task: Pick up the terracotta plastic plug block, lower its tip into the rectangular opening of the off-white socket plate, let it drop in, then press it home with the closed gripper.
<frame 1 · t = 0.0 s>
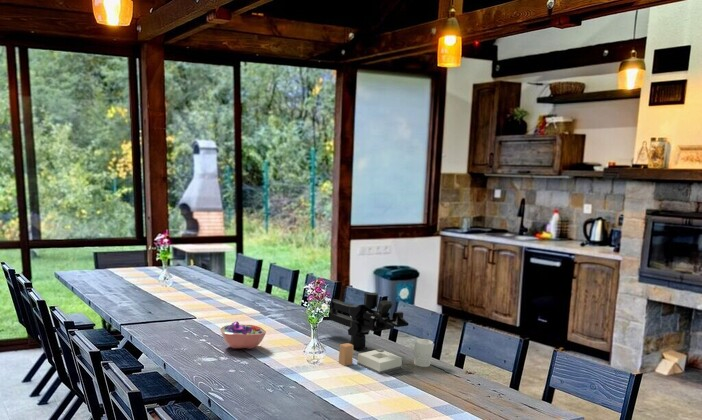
hand: (400, 325, 231), 17 cm above the table, tool horizontal, fingers open, 9 cm apart
white cup: (422, 364, 234), on the table
socket plate: (379, 366, 228), on the table
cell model: (242, 348, 240), on the table
plug: (345, 363, 228), on the table
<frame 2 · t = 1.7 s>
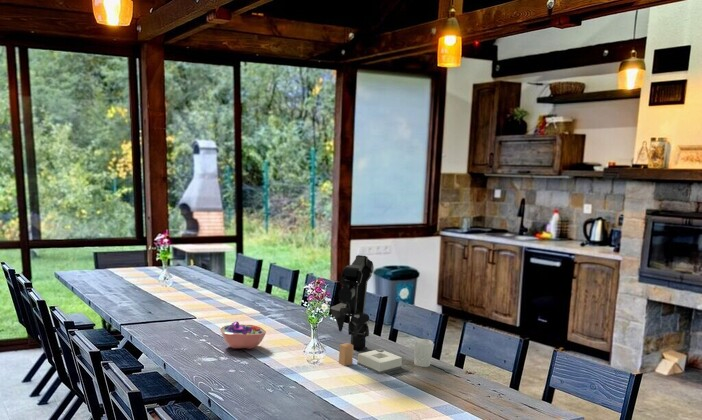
hand: (347, 334, 228), 13 cm above the table, tool pointing down, fingers open, 9 cm apart
nothing on the table moved.
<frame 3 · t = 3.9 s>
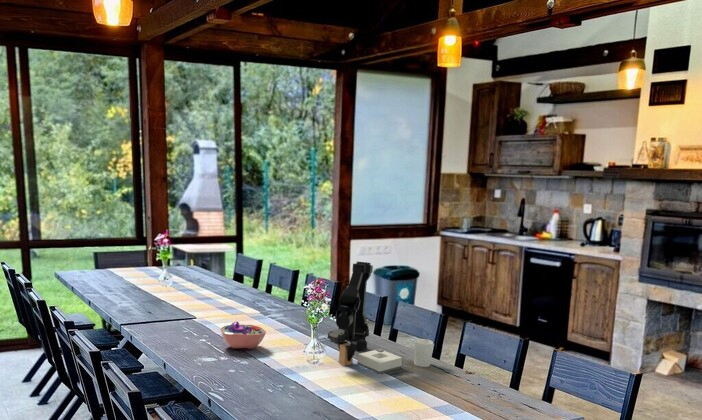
hand: (345, 359, 228), 2 cm above the table, tool pointing down, fingers closed on plug, 3 cm apart
plug: (345, 363, 228), on the table, touching gripper
everything else where it was.
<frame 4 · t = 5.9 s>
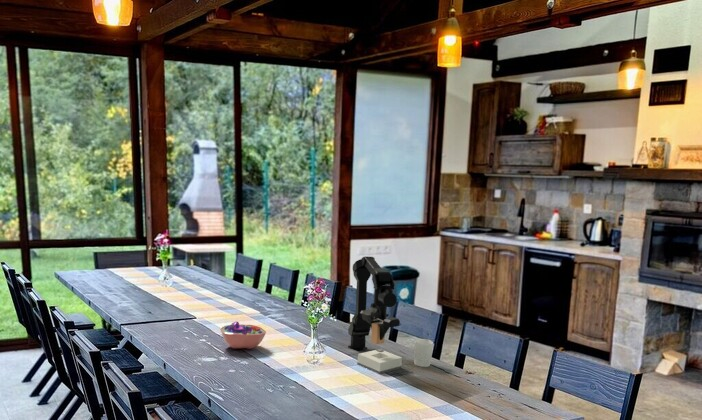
hand: (377, 338, 227), 12 cm above the table, tool pointing down, fingers closed on plug, 3 cm apart
plug: (377, 342, 227), point 10 cm above the table, touching gripper
everything else where it was.
when the fingers open (5 cm above the table, at t = 8.2 s): plug drops 3 cm, resting on socket plate.
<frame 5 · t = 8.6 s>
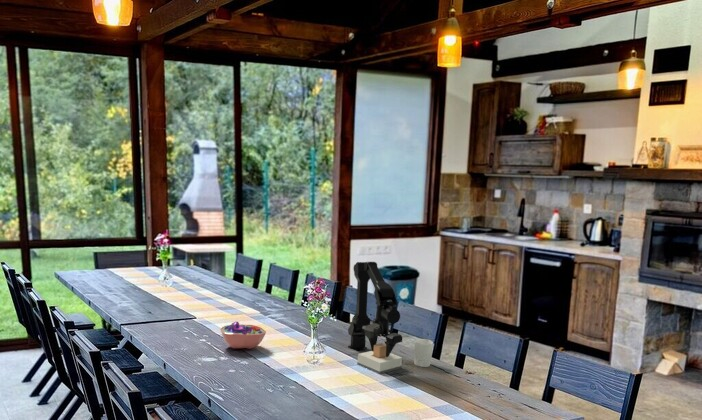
hand: (380, 354, 228), 5 cm above the table, tool pointing down, fingers open, 8 cm apart
plug: (379, 364, 228), point 1 cm above the table, touching socket plate
everything else where it was.
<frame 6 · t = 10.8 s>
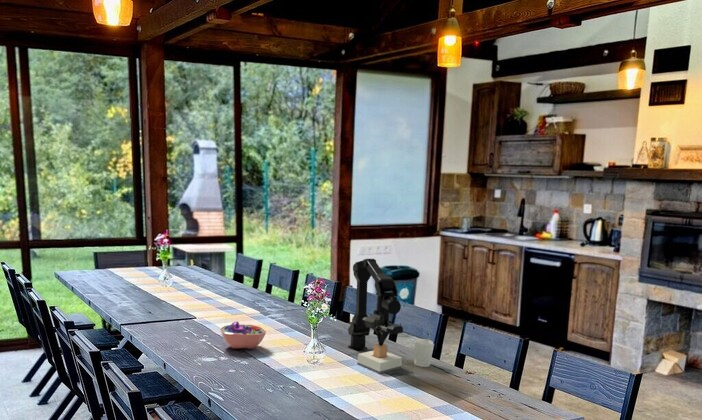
hand: (380, 345, 227), 9 cm above the table, tool pointing down, fingers closed, pressing on plug
plug: (379, 364, 228), point 1 cm above the table, touching gripper, socket plate
everything else where it was.
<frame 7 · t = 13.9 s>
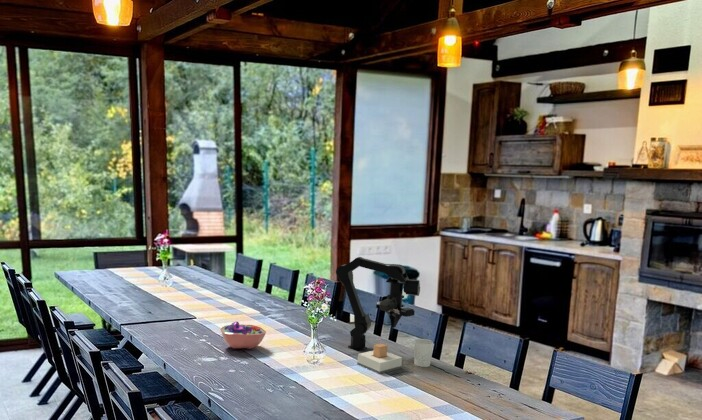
hand: (393, 327, 245), 12 cm above the table, tool pointing down, fingers closed
plug: (379, 364, 228), point 1 cm above the table, touching socket plate
everything else where it was.
at the end: plug 0.1 cm off-centre on the socket plate, point 1.0 cm above the socket plate's base; plug tilted 0°; the gripper is holding nothing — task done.
